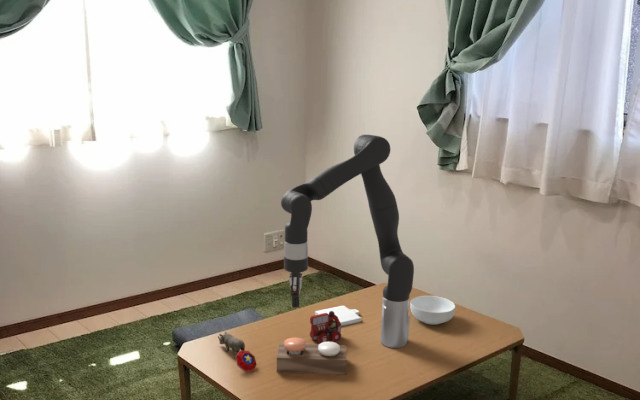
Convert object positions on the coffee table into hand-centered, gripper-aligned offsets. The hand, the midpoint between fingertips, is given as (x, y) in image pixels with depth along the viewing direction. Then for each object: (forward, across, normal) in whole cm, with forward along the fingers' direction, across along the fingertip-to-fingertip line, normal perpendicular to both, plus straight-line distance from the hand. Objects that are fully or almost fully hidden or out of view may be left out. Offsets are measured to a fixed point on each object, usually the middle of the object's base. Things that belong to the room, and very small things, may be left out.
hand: (295, 306), depth 197 cm
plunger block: (+21, 0, -5) cm, 21 cm away
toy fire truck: (+21, +18, -10) cm, 30 cm away
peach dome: (+19, 0, 0) cm, 19 cm away
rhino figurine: (+21, +8, +22) cm, 32 cm away
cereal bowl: (+21, +37, -50) cm, 66 cm away
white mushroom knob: (+20, 0, -11) cm, 23 cm away
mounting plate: (+21, +37, -14) cm, 45 cm away
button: (+21, -3, +16) cm, 26 cm away
